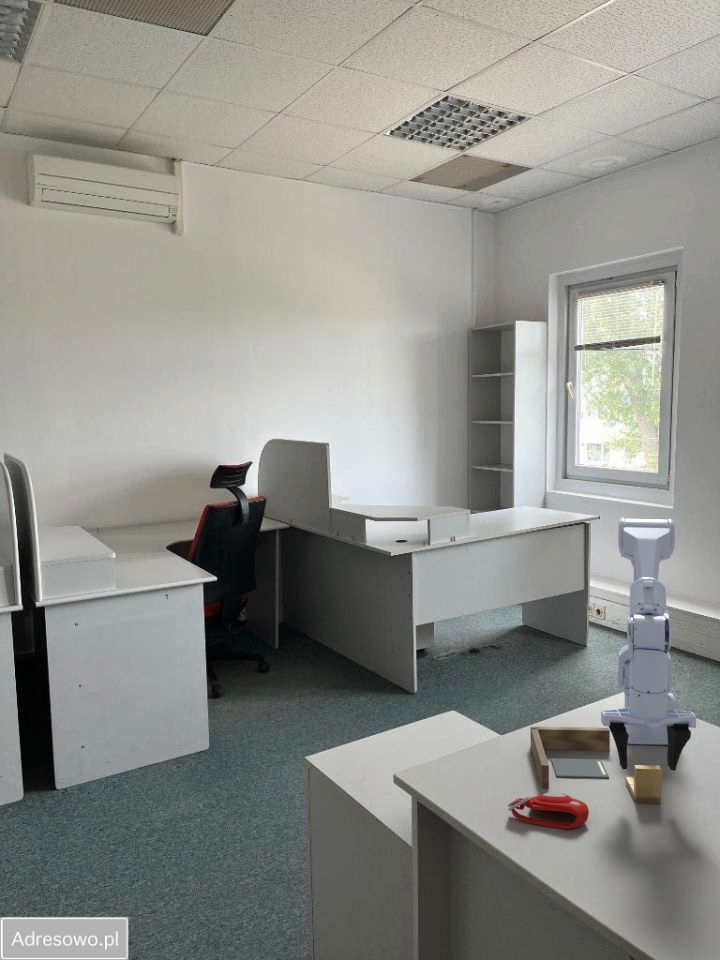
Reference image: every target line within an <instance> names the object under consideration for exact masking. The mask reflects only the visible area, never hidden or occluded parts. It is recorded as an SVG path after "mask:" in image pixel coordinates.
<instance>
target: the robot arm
mask: <svg viewBox="0 0 720 960" xmlns="http://www.w3.org/2000/svg"><path fill="white" fill-rule="evenodd" d="M675 528H676V527H675V521H674V520H672V518H668V519H666V518H665V519H658V518H657V519H654V518H625V517H620V519H619V520H618V550H619V554H620V557H621V558H624V559H626V560H629V561H630V563H631V566H632V568H633V582H632V583H631V584H630V587H629V616H627V620H626V621H627V622H626V623H627V626H626V631H627V633H626V634H627V636H626V637H627V638H626V639H627V642H626V643H627V644H626V645H624V646H622V647H621V648H620V649H619V651H618V659H617V687H618V688H620V690H623V693H624V707H622V708H615V709H607V710H605V709H603V710H602V709H601V710H600V722H601V724H602V725H603V727H607V728H609V730H610V733H611V735H612V737H613V741H614V743H615V747H616V750H617V751H616V752H617V754H618V759H619V765H620V767H621V769H622V770H628V744H629V745H656V746H657V745H661V746H662V745H664V746H666V745H667V753H666V760H667V762H666V763H667V766H668V768H669V769H670V770H671V771H674V772H675V771H676V770H677V767H678V766H677V765H678V763H679V759H680V756H681V755H682V752H683V749H684V748H685V747H686V745H687V743H688V742H689V741H690V739H691V736H692V730H690V729H689V728H691V729H693V728H697V716H696V715H695V713H694V712H693V711H684V710H679V708H678V703H677V699H676V697H675V695H674V694H673V692H672V688H673V684H672V683H673V674H672V673H673V672H672V658H671V655H670V650H671V645H672V623H671V619H670V615H669V610H667V609H668V608H667V591H666V587H665V585H664V584H663V583H662V582H661V581H659V573H660V572H659V569H660V568H659V567H660V563H661V562H662V561H665V560H669V559H671V557H672V555H673V553H674V550H675V541H676V540H675V539H676V538H675V537H676V535H675V532H676V531H675V530H676V529H675ZM666 644H667V649H666V648H665V647H666Z"/></svg>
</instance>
